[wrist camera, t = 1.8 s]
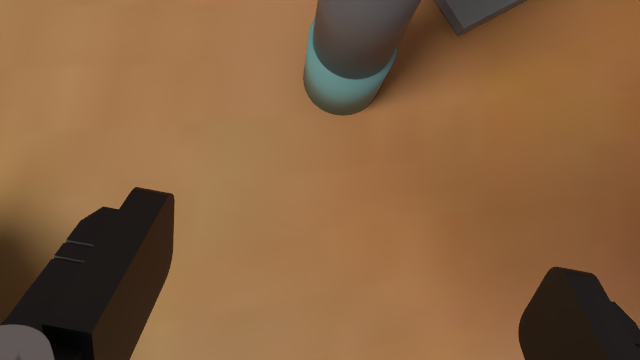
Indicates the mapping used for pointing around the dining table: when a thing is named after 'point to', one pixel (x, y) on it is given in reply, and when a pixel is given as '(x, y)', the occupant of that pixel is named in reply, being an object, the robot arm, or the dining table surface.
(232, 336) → the dining table surface
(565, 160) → the dining table surface
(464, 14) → the grey flat block
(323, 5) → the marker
